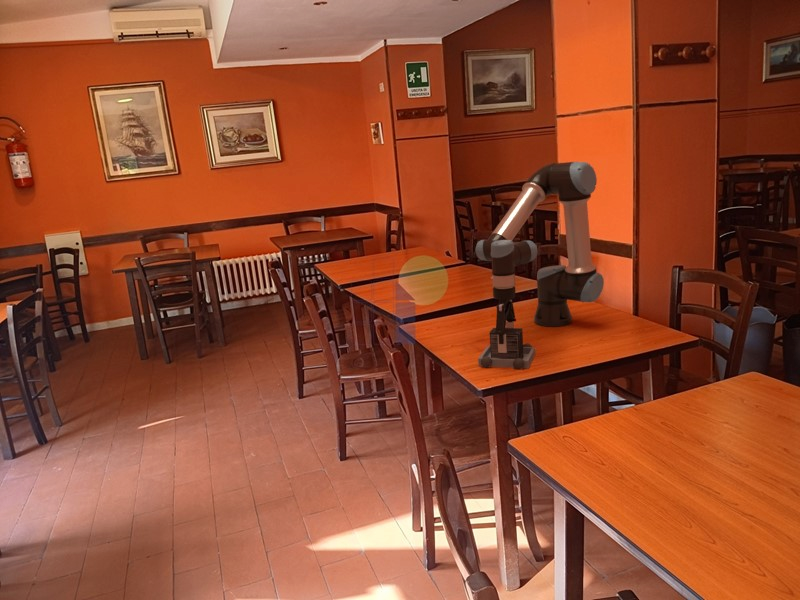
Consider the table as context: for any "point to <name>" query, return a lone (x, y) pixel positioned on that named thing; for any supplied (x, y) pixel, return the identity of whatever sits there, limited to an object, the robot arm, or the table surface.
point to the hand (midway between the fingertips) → (506, 346)
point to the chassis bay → (516, 363)
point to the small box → (508, 344)
